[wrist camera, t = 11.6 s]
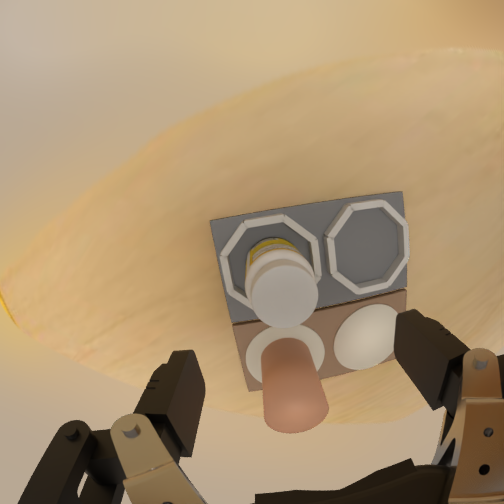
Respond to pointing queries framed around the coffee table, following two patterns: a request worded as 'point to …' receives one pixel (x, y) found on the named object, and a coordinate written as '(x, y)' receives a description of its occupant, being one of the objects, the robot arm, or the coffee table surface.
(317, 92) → the coffee table surface
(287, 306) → the supplement bottle
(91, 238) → the coffee table surface
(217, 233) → the board
